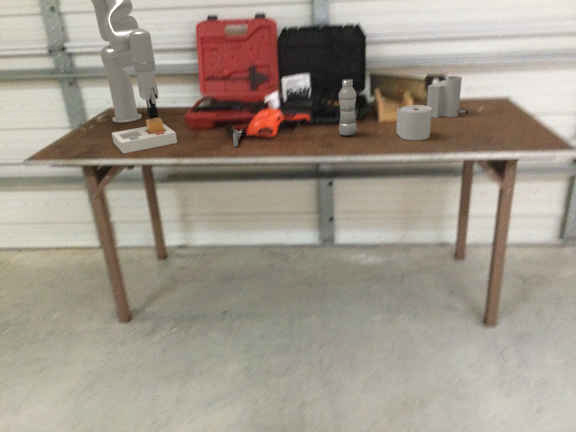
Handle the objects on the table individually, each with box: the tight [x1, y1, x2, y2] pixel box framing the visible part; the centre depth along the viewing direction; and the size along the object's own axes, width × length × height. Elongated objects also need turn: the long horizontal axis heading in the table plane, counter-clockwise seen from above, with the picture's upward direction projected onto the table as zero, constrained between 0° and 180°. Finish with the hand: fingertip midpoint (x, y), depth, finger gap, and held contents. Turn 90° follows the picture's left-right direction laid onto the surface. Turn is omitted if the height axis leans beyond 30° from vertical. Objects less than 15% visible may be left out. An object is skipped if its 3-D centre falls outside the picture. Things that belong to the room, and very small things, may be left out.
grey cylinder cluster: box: [426, 75, 469, 119], centre depth 202 cm, size 12×14×15 cm
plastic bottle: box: [338, 78, 357, 136], centre depth 184 cm, size 6×7×20 cm
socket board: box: [111, 123, 178, 154], centre depth 193 cm, size 16×20×5 cm
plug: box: [145, 117, 164, 134], centre depth 194 cm, size 5×5×8 cm
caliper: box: [232, 129, 242, 148], centre depth 190 cm, size 20×1×6 cm, turn 175°
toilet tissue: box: [395, 104, 432, 141], centre depth 181 cm, size 11×12×10 cm
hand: (153, 117), depth 191 cm, fingers closed
